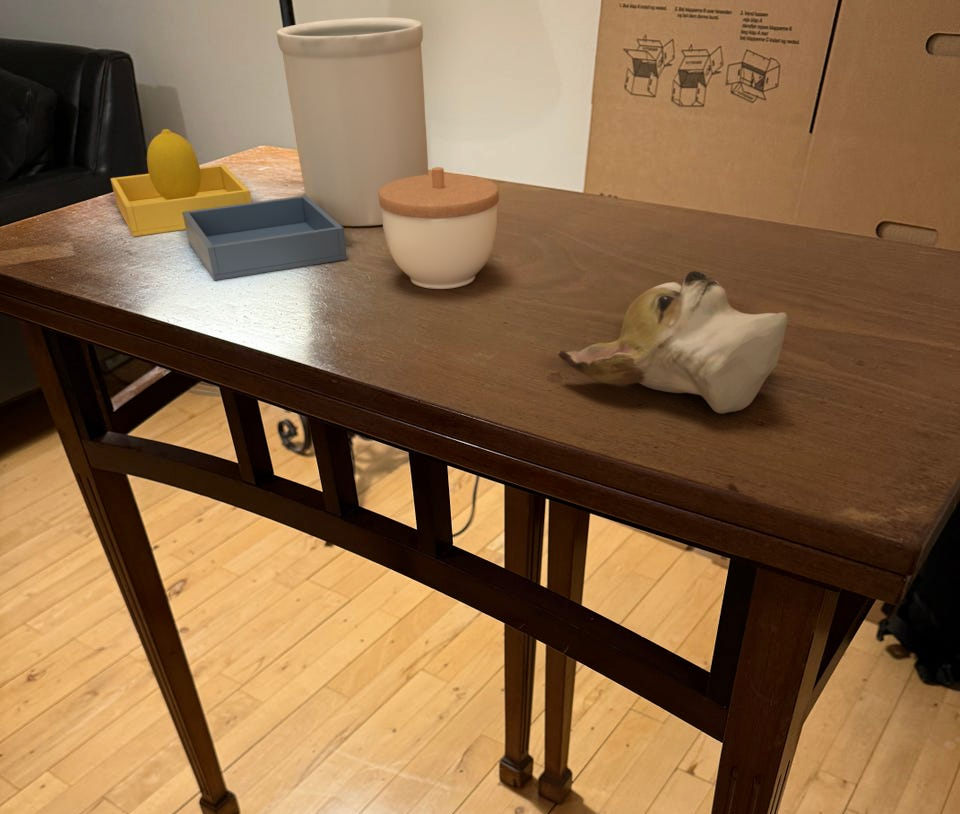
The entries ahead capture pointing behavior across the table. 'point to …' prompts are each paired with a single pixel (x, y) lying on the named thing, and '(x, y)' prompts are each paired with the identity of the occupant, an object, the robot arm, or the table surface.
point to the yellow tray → (174, 200)
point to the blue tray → (264, 236)
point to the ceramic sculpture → (689, 345)
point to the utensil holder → (356, 110)
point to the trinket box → (440, 226)
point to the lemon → (173, 166)
